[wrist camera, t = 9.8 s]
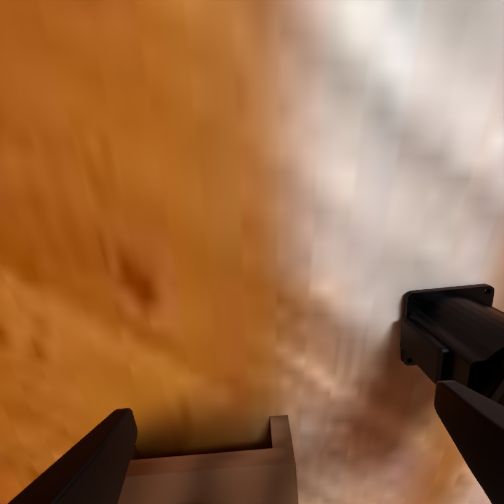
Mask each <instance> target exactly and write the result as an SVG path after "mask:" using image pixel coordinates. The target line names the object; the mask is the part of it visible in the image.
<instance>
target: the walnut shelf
mask: <svg viewBox="0 0 504 504" xmlns="http://www.w3.org/2000/svg"><path fill="white" fill-rule="evenodd" d="M270 423H271V435H272V447H273V448H271V449H259V450H247V451H235V452H223V453H211V454H199V455H187V456H175V457H163V458H151V459H139V456H138V453H137V450H136V446H134V449H133V453H132V456H131V460H130V463H129V467H128V470H127V474H126V477H125V481H124V484H123V488H122V491H121V495H120V498H119V501H118V504H298V492H297V478H296V465H295V458H294V452H293V445H292V439H291V433H290V427H289V421H288V415H285V416H273V417H270Z"/></svg>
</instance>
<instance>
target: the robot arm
mask: <svg viewBox="0 0 504 504" xmlns="http://www.w3.org/2000/svg"><path fill="white" fill-rule="evenodd" d="M485 290H486V291H485ZM413 296H414V298H413V299H412V300H411V298H412V297H413ZM493 297H494V288H493V287H492V286H490V285H487V284H477V285H467V286H456V287H446V288H435V289H424V290H414V291H409V292H407V293H406V295H405V299H404V315H403V319H402V326H401V342H400V346H401V360H402V361H403V362H404V364H406V365H418V366H419V367H420V368H421V369H422V371H423V372H424V373H425V374H426V375H427V376H428V377H429V378H430V379H431V380H432V381H433V382H434V383H435V384H436V390H435V399H434V407H435V410H436V412H437V414H438V416H439V418H440V419H441V421H442V423H443V424H444V426H445V428H446V430H447V431H448V433H449V435H450V436H451V438H452V440H453V441H454V443H455V445H456V447H457V448H458V450H459V452H460V453H461V455H462V457H463V458H464V460H465V462H466V464H467V465H468V467H469V469H470V470H471V472H472V473H473V475H474V477H475V478H476V480H477V481H478V482H479V484H480V485H481V487H482V488H483V490H484V492H485V494H486V495H487V496H488V498H489V500H490V501H491V503H492V504H504V312H502V311H500V310H498V309H496V308H494V307H492V303H493ZM408 358H409V359H408ZM136 439H137V426H136V423H135V419H134V415H133V412H132V410H131V409H130V408H123V409H117V410H115V411H113V412H112V413H111V414H110V415H109V416H108V417H106V418H105V419H104V420H103V421H102V422H101V423H100V424H98V425H97V426H96V427H95V428H94V429H93V430H92V431H90V432H89V433H88V434H87V435H86V436H85V437H84V438H82V439H81V440H80V441H79V442H78V443H77V444H75V445H74V446H73V447H72V448H71V449H70V450H69V451H67V452H66V453H65V454H64V455H63V456H62V457H61V458H59V459H58V460H57V461H56V462H55V463H54V464H53V465H51V466H50V467H49V468H48V469H47V470H46V471H44V472H43V473H42V474H41V475H40V476H39V477H38V478H36V479H35V480H34V481H33V482H32V483H31V484H30V485H28V486H27V487H26V488H25V489H24V490H23V491H22V492H20V493H19V494H18V495H17V496H16V497H15V498H13V499H12V500H11V501H10V502H9V503H8V504H118V501H119V498H120V495H121V491H122V488H123V484H124V481H125V477H126V474H127V470H128V467H129V463H130V460H131V456H132V453H133V449H134V446H135V442H136Z"/></svg>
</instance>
